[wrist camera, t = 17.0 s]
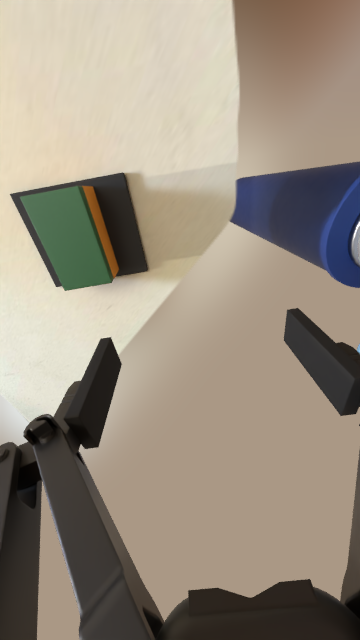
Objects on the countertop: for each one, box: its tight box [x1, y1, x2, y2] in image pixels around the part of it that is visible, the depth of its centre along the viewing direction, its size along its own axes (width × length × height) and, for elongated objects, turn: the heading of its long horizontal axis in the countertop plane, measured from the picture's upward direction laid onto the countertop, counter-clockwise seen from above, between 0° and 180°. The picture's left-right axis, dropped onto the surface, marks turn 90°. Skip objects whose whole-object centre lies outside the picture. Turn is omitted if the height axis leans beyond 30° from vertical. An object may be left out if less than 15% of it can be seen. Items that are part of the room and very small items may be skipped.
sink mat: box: [10, 173, 148, 287], centre depth 33 cm, size 16×14×1 cm
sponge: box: [20, 186, 119, 291], centre depth 30 cm, size 12×7×6 cm, turn 9°
